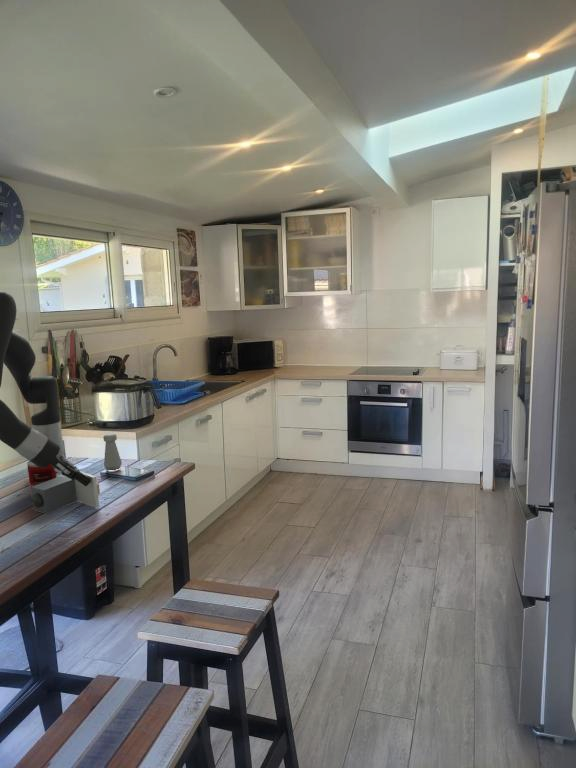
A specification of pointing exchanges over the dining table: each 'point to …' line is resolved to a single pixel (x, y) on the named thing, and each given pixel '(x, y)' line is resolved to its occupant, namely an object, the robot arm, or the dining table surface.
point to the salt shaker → (111, 453)
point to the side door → (88, 491)
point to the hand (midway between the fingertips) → (88, 482)
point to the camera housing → (53, 494)
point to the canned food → (40, 474)
